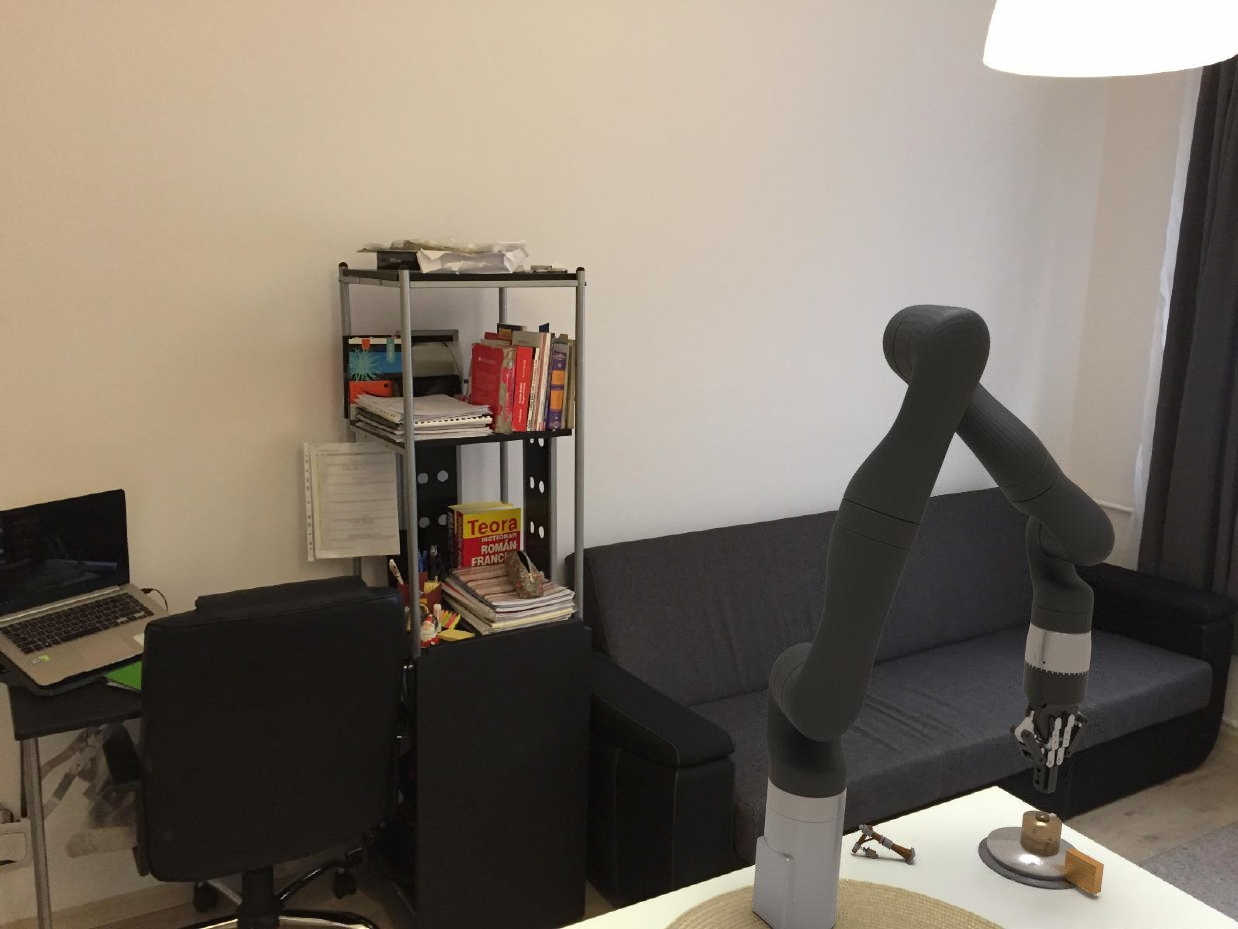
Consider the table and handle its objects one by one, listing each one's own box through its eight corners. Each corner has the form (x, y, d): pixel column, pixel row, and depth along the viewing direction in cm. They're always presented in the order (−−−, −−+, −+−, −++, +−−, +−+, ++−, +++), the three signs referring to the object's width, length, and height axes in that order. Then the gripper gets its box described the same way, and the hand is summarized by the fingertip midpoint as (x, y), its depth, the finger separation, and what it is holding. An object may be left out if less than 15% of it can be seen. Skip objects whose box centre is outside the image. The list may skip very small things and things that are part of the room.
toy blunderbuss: (845, 844, 143) (861, 818, 142) (898, 873, 142) (914, 847, 141) (846, 851, 141) (862, 824, 140) (899, 880, 140) (916, 853, 139)
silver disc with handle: (967, 844, 144) (970, 819, 144) (1027, 828, 150) (1029, 803, 149) (1065, 904, 130) (1068, 876, 130) (1127, 883, 136) (1130, 856, 136)
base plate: (1039, 899, 133) (1039, 896, 133) (956, 847, 145) (956, 845, 145) (1111, 875, 139) (1111, 872, 139) (1025, 828, 151) (1026, 825, 151)
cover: (1041, 859, 139) (1045, 826, 138) (1012, 841, 143) (1015, 810, 143) (1067, 851, 141) (1071, 820, 141) (1037, 834, 146) (1040, 803, 145)
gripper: (1047, 677, 124) (1033, 814, 127) (1117, 662, 131) (1103, 792, 134) (996, 658, 131) (984, 788, 133) (1065, 645, 137) (1053, 769, 140)
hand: (1044, 790), depth 133 cm, fingers closed
